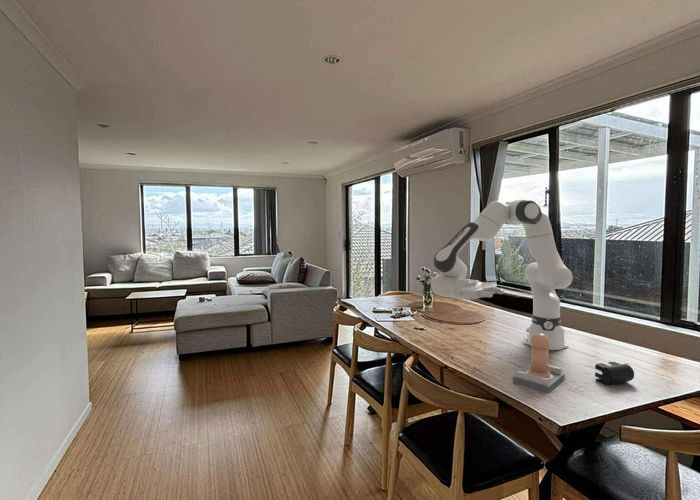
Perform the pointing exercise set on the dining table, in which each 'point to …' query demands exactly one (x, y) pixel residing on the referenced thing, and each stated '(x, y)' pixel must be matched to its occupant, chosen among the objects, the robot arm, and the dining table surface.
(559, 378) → the display plinth
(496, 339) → the dining table surface
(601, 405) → the dining table surface
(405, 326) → the dining table surface
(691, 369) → the dining table surface
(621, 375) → the end cap
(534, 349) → the ball-topped peg
